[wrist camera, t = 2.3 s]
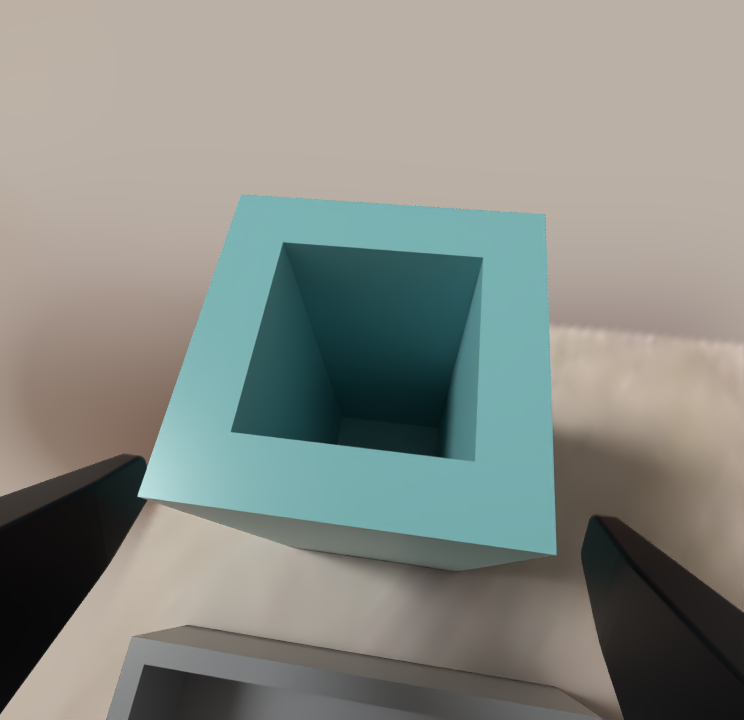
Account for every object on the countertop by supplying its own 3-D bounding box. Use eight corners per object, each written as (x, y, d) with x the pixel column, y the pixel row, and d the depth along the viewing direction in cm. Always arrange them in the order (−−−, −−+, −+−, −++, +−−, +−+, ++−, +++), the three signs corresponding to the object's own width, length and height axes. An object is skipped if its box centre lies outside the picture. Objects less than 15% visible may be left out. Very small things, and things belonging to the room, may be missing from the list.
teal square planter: (457, 571, 17) (556, 555, 7) (292, 547, 18) (136, 496, 7) (465, 411, 20) (545, 214, 9) (322, 396, 21) (241, 194, 10)
